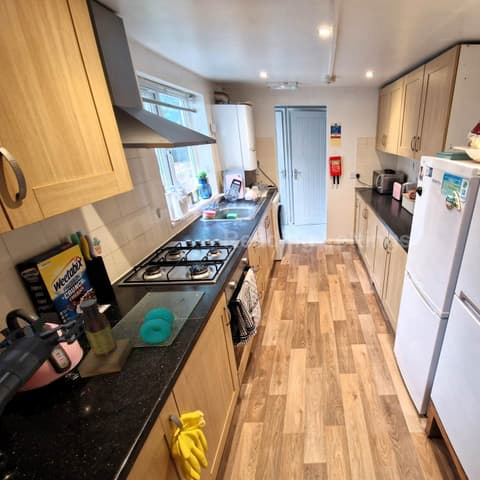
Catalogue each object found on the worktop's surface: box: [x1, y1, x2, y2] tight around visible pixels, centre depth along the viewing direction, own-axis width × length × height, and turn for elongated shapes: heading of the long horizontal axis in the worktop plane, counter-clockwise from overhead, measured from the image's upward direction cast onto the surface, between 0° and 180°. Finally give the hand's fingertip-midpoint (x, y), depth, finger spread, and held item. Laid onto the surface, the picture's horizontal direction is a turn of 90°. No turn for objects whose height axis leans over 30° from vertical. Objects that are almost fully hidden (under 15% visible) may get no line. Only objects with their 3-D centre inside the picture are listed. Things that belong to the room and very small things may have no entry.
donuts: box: [139, 307, 175, 344], centre depth 100 cm, size 10×10×10 cm
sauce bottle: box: [78, 298, 117, 357], centre depth 86 cm, size 6×6×20 cm
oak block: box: [77, 337, 134, 379], centre depth 90 cm, size 11×11×4 cm
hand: (62, 317), depth 71 cm, fingers open, 8 cm apart
